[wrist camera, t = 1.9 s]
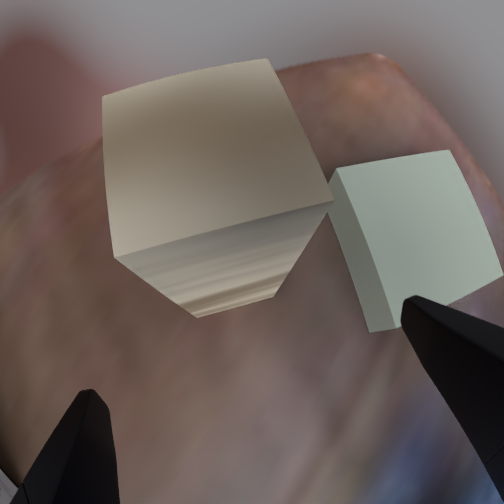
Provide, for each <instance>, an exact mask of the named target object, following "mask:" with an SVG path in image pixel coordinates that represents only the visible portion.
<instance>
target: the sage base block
mask: <svg viewBox="0 0 504 504" xmlns="http://www.w3.org/2000/svg"><path fill="white" fill-rule="evenodd" d="M328 185H329V188H330V190H331V193H332V195H333V197H334V202H333V203H332V205H331V207H330V208H329V210H328V215H329V217H330V220H331V223H332V225H333V228H334V231H335V233H336V236H337V239H338V241H339V244H340V247H341V249H342V252H343V255H344V258H345V261H346V263H347V266H348V269H349V272H350V275H351V278H352V281H353V284H354V287H355V290H356V293H357V296H358V299H359V302H360V305H361V308H362V311H363V314H364V317H365V320H366V324H367V327H368V330H369V333H371V332H377V331H384V330H390V329H396V328H398V327H401V322H400V318H401V312H402V305H403V301H404V299H406V298H408V297H411V296H413V295H419V296H421V297H424V298H427V299H429V300H432V301H435V302H437V303H440V304H443V305H445V306H446V305H448V304H450V303H452V302H454V301H456V300H458V299H460V298H462V297H464V296H466V295H468V294H470V293H472V292H474V291H476V290H477V289H479V288H481V287H483V286H485V285H487V284H489V283H490V282H492V281H494V280H496V279H497V278H499V277H501V276H503V272H502V269H501V266H500V263H499V260H498V257H497V254H496V251H495V249H494V246H493V243H492V241H491V238H490V235H489V233H488V230H487V228H486V225H485V223H484V221H483V218H482V216H481V213H480V211H479V209H478V207H477V204H476V202H475V200H474V198H473V196H472V193H471V191H470V189H469V187H468V185H467V183H466V181H465V179H464V177H463V175H462V173H461V171H460V169H459V167H458V165H457V163H456V161H455V160H454V158H453V156H452V154H451V152H450V150H443V151H435V152H429V153H422V154H415V155H409V156H403V157H396V158H390V159H385V160H379V161H373V162H367V163H362V164H356V165H351V166H346V167H341V168H336V170H335V171H334V173H333V175H332V177H331V179H330V181H329V183H328Z"/></svg>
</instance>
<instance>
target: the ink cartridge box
mask: <svg viewBox="0 0 504 504" xmlns="http://www.w3.org/2000/svg"><path fill="white" fill-rule="evenodd" d="M17 490H18V488H17V487H16V486H15V485H14V484H13V483H12V482H11V481H10V479H9V478H8V477H7V476H6V475H5V474H4V473H3V471H2V470H1V469H0V504H10V502H11V500H12V498H13V497H14V495H15V494H16V492H17Z"/></svg>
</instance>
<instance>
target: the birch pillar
mask: <svg viewBox="0 0 504 504" xmlns="http://www.w3.org/2000/svg"><path fill="white" fill-rule="evenodd" d="M102 130H103V154H104V171H105V184H106V195H107V205H108V215H109V223H110V231H111V239H112V246H113V253H114V258H115V259H117V260H118V261H119V262H121V263H122V264H123V265H124V266H126V267H127V268H128V269H130V270H131V271H132V272H134V273H135V274H136V275H138V276H139V277H140V278H142V279H143V280H144V281H146V282H147V283H148V284H150V285H151V286H153V287H154V288H155V289H157V290H158V291H159V292H161V293H162V294H164V295H165V296H166V297H168V298H169V299H171V300H172V301H173V302H175V303H176V304H178V305H179V306H180V307H182V308H183V309H185V310H186V311H188V312H189V313H191V314H192V315H193V316H195V317H196V318H198V317H202V316H206V315H209V314H213V313H217V312H221V311H224V310H228V309H232V308H235V307H239V306H243V305H246V304H250V303H253V302H257V301H260V300H264V299H267V298H271V297H273V296H274V295H275V293H276V292H277V290H278V289H279V287H280V286H281V284H282V283H283V281H284V280H285V278H286V277H287V275H288V273H289V272H290V270H291V269H292V267H293V266H294V264H295V263H296V261H297V259H298V258H299V256H300V255H301V253H302V252H303V250H304V248H305V247H306V245H307V244H308V242H309V241H310V239H311V237H312V236H313V234H314V233H315V231H316V229H317V228H318V226H319V225H320V223H321V221H322V220H323V218H324V216H325V215H326V213H327V212H328V210H329V208H330V207H331V205H332V203H333V202H334V197H333V195H332V193H331V190H330V188H329V185H328V183H327V181H326V178H325V176H324V174H323V171H322V169H321V167H320V165H319V162H318V160H317V158H316V155H315V153H314V151H313V149H312V147H311V144H310V142H309V140H308V138H307V136H306V134H305V132H304V129H303V127H302V125H301V123H300V121H299V119H298V117H297V115H296V113H295V111H294V109H293V107H292V105H291V103H290V101H289V99H288V97H287V95H286V93H285V91H284V89H283V87H282V85H281V83H280V81H279V79H278V77H277V75H276V73H275V71H274V70H273V68H272V66H271V64H270V62H269V60H268V59H267V58H265V59H257V60H251V61H244V62H237V63H231V64H226V65H220V66H215V67H209V68H204V69H200V70H195V71H191V72H186V73H182V74H178V75H173V76H169V77H166V78H162V79H158V80H154V81H151V82H147V83H144V84H140V85H137V86H134V87H131V88H127V89H124V90H121V91H118V92H115V93H112V94H109V95H106V96H103V97H102Z"/></svg>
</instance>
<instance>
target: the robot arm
mask: <svg viewBox="0 0 504 504" xmlns="http://www.w3.org/2000/svg"><path fill="white" fill-rule="evenodd" d="M400 322H401V326H402V328H403V330H404V332H405V334H406V336H407V338H408V339H409V341H410V343H411V345H412V347H413V349H414V351H415V353H416V354H417V356H418V358H419V360H420V362H421V364H422V366H423V367H424V369H425V370H426V372H427V373H428V375H429V376H430V378H431V379H432V381H433V383H434V384H435V386H436V387H437V389H438V390H439V392H440V393H441V395H442V396H443V398H444V399H445V401H446V403H447V404H448V406H449V407H450V409H451V411H452V412H453V414H454V415H455V417H456V419H457V420H458V422H459V423H460V425H461V427H462V428H463V430H464V432H465V433H466V435H467V437H468V438H469V440H470V442H471V443H472V445H473V447H474V449H475V450H476V452H477V454H478V456H479V457H480V459H481V461H482V463H483V464H484V467H485V468H486V470H487V472H488V474H489V476H490V477H491V479H492V481H493V483H494V485H495V487H496V489H497V490H498V492H499V494H500V496H501V498H502V500H503V502H504V328H502V327H500V326H497V325H494V324H492V323H489V322H487V321H484V320H482V319H479V318H476V317H474V316H471V315H469V314H466V313H463V312H461V311H458V310H456V309H453V308H450V307H448V306H445V305H443V304H440V303H437V302H435V301H432V300H429V299H427V298H424V297H421V296H419V295H413V296H411V297H408V298H406V299H404V301H403V305H402V312H401V318H400ZM10 504H120V498H119V488H118V475H117V462H116V453H115V447H114V440H113V434H112V426H111V419H110V412H109V408H108V406H107V405H106V403H105V402H104V401H103V400H102V399H101V397H100V396H99V395H98V394H97V392H96V391H95V390H93V389H87V390H82V391H80V392H79V393H78V394H77V396H76V397H75V399H74V400H73V402H72V403H71V405H70V406H69V408H68V409H67V411H66V412H65V414H64V416H63V417H62V419H61V420H60V422H59V423H58V425H57V426H56V428H55V429H54V431H53V433H52V434H51V436H50V437H49V439H48V440H47V442H46V444H45V445H44V447H43V449H42V450H41V452H40V453H39V455H38V457H37V458H36V460H35V462H34V463H33V465H32V467H31V468H30V470H29V472H28V473H27V475H26V477H25V478H24V480H23V483H21V485H20V487H19V488H18V490H17V492H16V494H15V495H14V497H13V498H12V500H11V502H10Z"/></svg>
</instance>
